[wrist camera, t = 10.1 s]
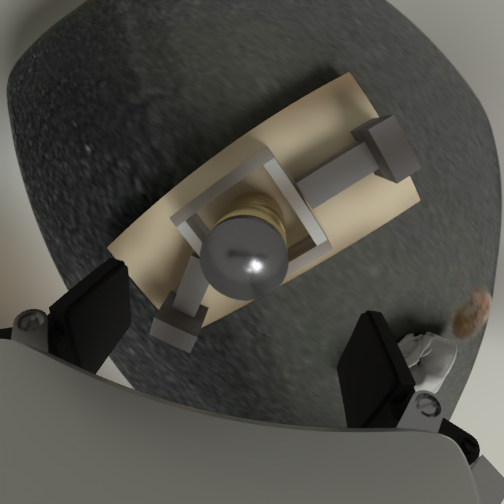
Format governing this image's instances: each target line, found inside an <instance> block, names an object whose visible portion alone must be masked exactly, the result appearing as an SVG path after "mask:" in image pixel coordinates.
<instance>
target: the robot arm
mask: <svg viewBox="0 0 504 504" xmlns="http://www.w3.org/2000/svg"><path fill="white" fill-rule="evenodd" d="M49 310H50V314H48V315H46V313H45V312H43V311H41V310H38V309H30V310H26V311H23V312H21V313H20V314H19V315H17V317H16V318H15V320H14V323H13V327H11V328H5V329H0V504H501V502H502V501H503V499H504V477H503V476H502V475H501V474H500V473H499V472H498V471H497V470H496V469H495V468H494V466H492V464H491V463H490V462H489V461H488V460H487V459H486V458H485V457H484V456H483V455H482V456H480V457H479V452H480V449H479V444H478V442H477V440H476V439H475V438H474V437H473V436H472V435H470V434H469V433H467V432H465V431H464V430H462V429H461V428H459V427H457V426H456V425H454V424H453V423H451V422H449V421H448V420H446V419H445V418H443V416H444V410H445V409H444V404H443V403H442V401H441V399H440V398H439V397H438V396H437V395H435V394H434V393H432V392H430V391H427V390H419V391H417V392H416V391H415V389H414V387H415V385H416V383H415V380H414V378H413V376H412V374H411V371H410V369H409V367H408V365H407V363H406V361H405V359H404V356H403V354H402V352H401V350H400V348H399V346H398V344H397V342H396V340H395V338H394V336H393V334H392V332H391V330H390V328H389V326H388V324H387V322H386V320H385V319H384V317H383V315H382V313H381V312H376V311H369V310H368V311H366V312H365V313H362V314H361V316H360V318H359V320H358V322H357V324H356V327H355V329H354V331H353V333H352V335H351V338H350V340H349V342H348V344H347V346H346V348H345V350H344V352H343V354H342V356H341V358H340V360H339V362H338V366H337V372H338V377H339V382H340V387H341V393H342V398H343V404H344V409H345V415H346V421H347V427H348V428H331V427H312V426H299V425H289V424H280V423H272V422H265V421H258V420H251V419H245V418H240V417H234V416H229V415H224V414H219V413H214V412H210V411H206V410H201V409H197V408H193V407H189V406H186V405H182V404H178V403H175V402H171V401H168V400H165V399H161V398H158V397H155V396H152V395H149V394H146V393H143V392H140V391H137V390H134V389H131V388H128V387H126V386H123V385H120V384H118V383H115V382H113V381H110V380H108V379H105V378H103V377H100V376H98V375H96V373H97V371H98V370H99V369H100V367H101V366H102V364H103V363H104V361H105V360H106V359H107V357H108V356H109V354H110V353H111V352H112V350H113V349H114V347H115V346H116V345H117V343H118V342H119V341H120V339H121V338H122V336H123V335H124V334H125V332H126V331H127V330H128V328H129V327H130V324H131V312H130V298H129V279H128V267H127V265H125V263H124V261H121V260H117V259H113V258H110V259H108V260H107V261H106V262H104V263H103V264H102V265H100V266H99V267H98V268H97V269H95V270H94V271H93V272H91V273H90V274H89V275H88V276H86V277H85V278H84V279H83V280H81V281H80V282H79V283H78V284H77V285H75V286H74V287H73V288H72V289H70V290H69V291H68V292H67V293H66V294H64V295H63V296H62V297H61V298H60V299H59V300H57V301H56V302H55V303H54V304H53V305H52V306H50V307H49Z"/></svg>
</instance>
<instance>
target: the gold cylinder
mask: <svg viewBox="0 0 504 504" xmlns="http://www.w3.org/2000/svg"><path fill="white" fill-rule="evenodd" d="M288 264H289V259H288V249H287V239H286V229H285V220H284V214H283V211H282V209H281V207H280V205H279V204H278V203H277V202H276V201H275V200H274V199H273V198H272V197H270V196H268V195H266V194H264V193H260V192H248V193H244V194H241V195H239V196H238V197H236V198H235V199H234V200H232V202H231V203H230V204H229V205H228V207H227V208H226V209H225V211H224V212H223V214H222V215H221V216H220V218H219V219H218V221H217V222H216V224H215V225H214V226H213V228H212V229H211V231H210V232H209V234H208V235H207V236H206V238H205V239H204V241H203V244H202V246H201V250H200V266H201V270H202V272H203V275H204V277H205V278H206V280H207V281H208V283H209V284H210V285H211V286H212V287H213V288H214V289H215V290H216V291H218V292H219V293H221V294H223V295H225V296H227V297H229V298H232V299H236V300H243V301H250V300H256V299H260V298H263V297H265V296H268V295H269V294H271V293H272V292H274V291H275V290H276V289H277V288H278V287H279V286H280V285H281V284H282V282H283V281H284V279H285V277H286V274H287V271H288Z"/></svg>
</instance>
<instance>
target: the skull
mask: <svg viewBox="0 0 504 504" xmlns="http://www.w3.org/2000/svg"><path fill="white" fill-rule="evenodd" d="M425 334H426V335H424V336H423V335H422V334H420V335H418V336H416V337H414V334H412V333H410V334H407V335H406V336H405V337H404V338H403V339H402V340H401V341H400V342H399V343H397V344H398V346H399V348H400V350H401V352H402V354H403V356H404V358H405V361H406V363H407V365H408V367H409V369H410V371H411V374H412V376H413V378H414V380H415V383H416V385H415V387H414V389H415V391H416V392H417V391H419V390H427V391H430V392H432V393H434V394H435V393H436V392H437V391H438V390H439V388H440V387H441V385H442V383H443V381H444V379H445V377H446V375H447V374H448V373H449V371H450V369H451V367H452V365H453V363H454V361H455V359H456V353H457V343H456V341H455V340H454V339H445V338H442V337H440V336H438V335H437V334H434V333H431V332H426V333H425Z"/></svg>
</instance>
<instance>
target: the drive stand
mask: <svg viewBox="0 0 504 504" xmlns="http://www.w3.org/2000/svg"><path fill="white" fill-rule="evenodd" d="M420 169H421V166H420V164H419V162H418V160H417V158H416V156H415V153H414V151H413V149H412V147H411V145H410V143H409V141H408V139H407V137H406V135H405V134H404V132H403V130H402V128H401V126H400V124H399V122H398V121H397V119H396V117H395V115H390V116H384V117H379V116H378V115H377V113H376V111H375V110H374V108H373V106H372V105H371V103H370V102H369V100H368V98H367V97H366V95H365V94H364V92H363V91H362V89H361V88H360V86H359V85H358V84H357V82H356V81H355V79H354V78H353V76H352V75H351V74H350V72H348V73H346V74H344V75H342V76H341V77H339V78H337V79H335V80H333V81H331V82H329V83H327V84H326V85H324V86H322V87H320V88H318V89H317V90H315V91H313V92H311V93H310V94H308V95H306V96H304V97H303V98H301V99H299V100H298V101H296V102H294V103H293V104H291V105H289V106H288V107H286V108H284V109H283V110H281V111H280V112H278V113H276V114H275V115H273V116H272V117H270V118H269V119H267V120H265V121H264V122H262V123H261V124H259V125H258V126H256V127H255V128H253V129H252V130H250V131H249V132H247V133H246V134H245V135H243V136H242V137H240V138H239V139H237V140H236V141H235V142H233V143H232V144H230V145H229V146H227V147H226V148H225V149H223V150H222V151H221V152H219V153H218V154H216V155H215V156H214V157H212V158H211V159H210V160H208V161H207V162H206V163H204V164H203V165H202V166H201V167H199V168H198V169H197V170H195V171H194V172H193V173H192V174H190V175H189V176H188V177H186V178H185V179H184V180H183V181H181V182H180V183H179V184H178V185H177V186H175V187H174V188H173V189H172V190H170V191H169V192H168V193H167V194H166V195H164V196H163V197H162V198H161V199H160V200H159V201H157V202H156V203H155V204H154V205H153V206H152V207H150V208H149V209H148V210H147V211H146V212H145V213H144V214H143V215H141V216H140V217H139V218H138V219H137V220H136V221H135V222H134V223H133V224H131V225H130V226H129V227H128V228H127V229H126V230H125V231H124V232H123V233H122V234H121V235H120V236H119V237H118V238H117V239H115V240H114V241H113V242H112V243H111V244H110V245H109V246H108V247H107V248H108V250H109V251H110V252H111V253H112V255H113V256H114V257H115V259H117V260H121V261H124V263H125V265H127V267H128V275H129V276H130V277H131V278H132V280H133V281H134V282H135V283H136V284H137V286H138V287H139V288H140V289H141V290H142V291H143V293H144V294H145V295H146V296H147V297H148V298H149V300H150V301H151V302H152V303H153V304H154V305H155V306H156V307H157V309H158V312H157V313H156V315H155V317H154V319H153V323H152V326H151V329H150V333H149V334H150V335H152V336H154V337H156V338H158V339H160V340H162V341H164V342H166V343H168V344H170V345H173V346H175V347H177V348H179V349H181V350H184V351H186V352H188V353H191V350H192V348H193V346H194V344H195V342H196V340H197V338H198V335H199V332H200V330H201V328H202V327H204V326H206V325H208V324H210V323H212V322H214V321H216V320H218V319H220V318H222V317H224V316H225V315H227V314H229V313H231V312H233V311H235V310H237V309H239V308H241V307H242V306H244V305H246V304H248V303H250V302H252V301H254V300H250V301H243V300H236V299H232V298H229V297H227V296H225V295H223V294H221V293H219V292H218V291H216V290H215V289H214V288H213V287H212V286H211V285H210V284H209V283H208V281H207V280H206V278H205V277H204V275H203V272H202V270H201V266H200V250H201V246H202V244H203V241H204V239H205V238H206V236H207V235H208V234H209V232H210V231H211V229H212V228H213V226H214V225H215V224H216V222H217V221H218V219H219V218H220V216H221V215H222V214H223V212H224V211H225V209H226V208H227V207H228V205H229V204H230V203H231V202H232V200H234V199H235V198H236V197H238V196H239V195H241V194H244V193H248V192H260V193H264V194H266V195H268V196H270V197H272V198H273V199H274V200H275V201H276V202H277V203H278V204H279V205H280V207H281V209H282V211H283V214H284V220H285V229H286V239H287V249H288V259H289V264H288V271H287V274H286V277H285V279H284V281H283V282H282V284H281V285H283V284H284V283H286V282H288V281H290V280H291V279H293V278H295V277H297V276H298V275H300V274H302V273H304V272H305V271H307V270H309V269H311V268H312V267H314V266H316V265H317V264H319V263H321V262H323V261H324V260H326V259H328V258H329V257H331V256H333V255H334V254H336V253H338V252H339V251H341V250H343V249H344V248H346V247H348V246H349V245H351V244H353V243H354V242H356V241H358V240H359V239H361V238H363V237H364V236H366V235H367V234H369V233H371V232H372V231H374V230H375V229H377V228H379V227H380V226H382V225H383V224H385V223H386V222H388V221H390V220H391V219H393V218H394V217H396V216H397V215H399V214H401V213H402V212H404V211H405V210H407V209H408V208H410V207H411V206H413V205H414V204H416V203H417V202H419V201H420V198H419V196H418V193H417V191H416V188H415V186H414V184H413V182H412V179H411V177H410V175H412V174H413V173H415V172H416V171H418V170H420ZM281 285H280V286H281Z"/></svg>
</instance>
